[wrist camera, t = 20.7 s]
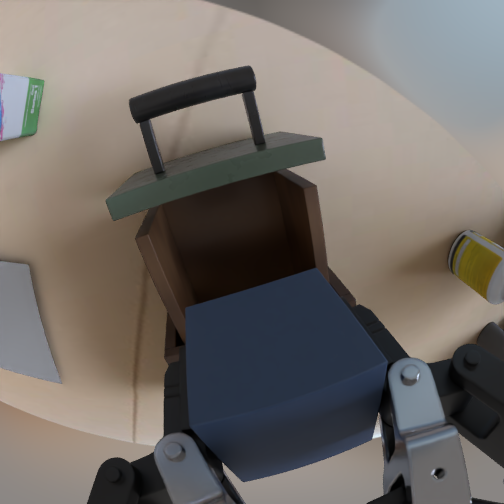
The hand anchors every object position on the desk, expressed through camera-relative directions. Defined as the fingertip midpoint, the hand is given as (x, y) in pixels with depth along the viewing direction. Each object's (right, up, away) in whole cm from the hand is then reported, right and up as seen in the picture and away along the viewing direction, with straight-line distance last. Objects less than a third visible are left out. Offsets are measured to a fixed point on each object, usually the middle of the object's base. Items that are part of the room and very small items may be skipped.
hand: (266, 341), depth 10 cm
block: (0, 0, 0) cm, 0 cm away
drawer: (-3, +7, +12) cm, 14 cm away
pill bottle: (+27, +3, +21) cm, 35 cm away
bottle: (+47, -13, +33) cm, 59 cm away
